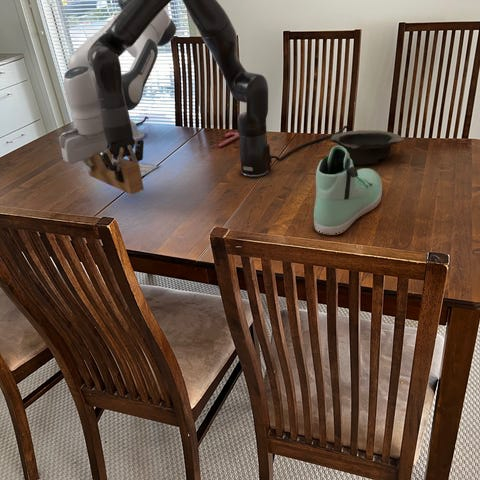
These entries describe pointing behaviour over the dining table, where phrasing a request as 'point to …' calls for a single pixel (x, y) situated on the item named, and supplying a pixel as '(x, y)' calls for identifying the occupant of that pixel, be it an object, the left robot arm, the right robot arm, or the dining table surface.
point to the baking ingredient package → (146, 169)
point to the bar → (103, 174)
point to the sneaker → (343, 192)
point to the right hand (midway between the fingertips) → (128, 178)
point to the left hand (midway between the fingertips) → (99, 167)
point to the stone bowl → (367, 145)
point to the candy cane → (235, 136)
